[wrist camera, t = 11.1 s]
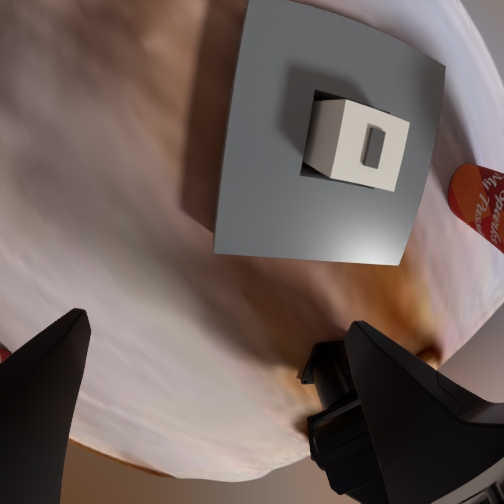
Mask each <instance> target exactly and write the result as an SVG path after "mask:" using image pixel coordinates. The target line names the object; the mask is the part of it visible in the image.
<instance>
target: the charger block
mask: <svg viewBox="0 0 504 504" xmlns="http://www.w3.org/2000/svg"><path fill="white" fill-rule="evenodd" d="M409 124H410V123H409V122H407V121H405V120H402V119H400V118H397V117H395V116H392V115H390V114H387V113H384V112H382V111H379V110H376V109H374V108H371V107H368V106H365V105H362V104H359V103H356V102H353V101H350V100H346V99H343V100H325V101H313V104H312V110H311V116H310V121H309V127H308V133H307V138H306V144H305V149H304V155H303V160H302V161H303V162H304V163H306V164H308V165H310V166H311V167H313V168H315V169H316V170H318V171H320V172H321V173H323V174H325V175H326V176H328V177H330V178H333V179H338V180H343V181H348V182H353V183H358V184H362V185H367V186H371V187H376V188H380V189H384V190H388V191H392V192H394V189H395V186H396V182H397V178H398V174H399V170H400V166H401V162H402V158H403V153H404V149H405V144H406V139H407V135H408V130H409Z"/></svg>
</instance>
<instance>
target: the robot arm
mask: <svg viewBox="0 0 504 504" xmlns="http://www.w3.org/2000/svg"><path fill="white" fill-rule="evenodd" d="M90 336H91V328H90V324H89V320H88V316H87V313H86V311H85V310H84V309H79V308H73V309H72V310H70V311H69V312H68V313H66V314H65V315H63V316H62V317H61V318H59V319H58V320H56V321H55V322H54V323H52V324H51V325H50V326H48V327H47V328H45V329H44V330H43V331H41V332H40V333H39V334H37V335H36V336H35V337H33V338H32V339H31V340H29V341H28V342H27V343H25V344H24V345H23V346H22V347H20V348H19V349H18V350H16V351H15V352H14V353H13V354H11V355H10V356H9V357H7V358H6V359H5V360H4V361H3V362H1V363H0V504H60V495H61V485H62V481H61V480H62V475H63V467H64V461H65V455H66V449H67V443H68V437H69V432H70V427H71V422H72V418H73V413H74V409H75V405H76V401H77V397H78V393H79V389H80V385H81V381H82V378H83V374H84V368H85V363H86V357H87V351H88V346H89V341H90ZM300 381H301V383H302V384H315V387H316V390H317V393H318V396H319V398H320V401H321V404H322V407H323V410H324V411H322V412H320V413H317V414H315V415H313V416H312V415H311V416H309V417H307V423H308V424H307V429H308V437H309V445H310V453H311V459H312V460H313V461H315V462H316V463H317V465H318V466H319V468H320V469H321V470H323V471H325V472H326V474H327V477H328V480H329V483H330V486H331V489H332V490H334V491H335V492H336V493H337V494H339V495H343V494H346V495H348V496H349V497H351V498H353V499H355V500H356V501H358V502H360V503H361V504H504V403H492V402H489V401H486V400H484V399H482V398H480V397H479V396H477V395H475V394H473V393H472V392H470V391H468V390H466V389H465V388H463V387H461V386H460V385H458V384H456V383H454V382H453V381H452V380H450V379H448V378H447V377H445V376H444V375H442V374H441V373H440V372H438V371H437V370H436V371H435V369H434V368H432V367H431V366H429V365H428V364H426V363H425V362H424V361H422V360H421V359H419V358H418V357H416V356H415V355H413V354H412V353H410V352H409V351H407V350H406V349H405V348H403V347H402V346H400V345H399V344H397V343H396V342H394V341H393V340H391V339H390V338H388V337H387V336H386V335H384V334H383V333H381V332H380V331H378V330H377V329H375V328H374V327H372V326H371V325H369V324H368V323H366V322H365V321H354V322H352V324H351V326H350V328H349V330H348V332H347V335H346V337H345V342H331V343H318V344H316V345H315V347H314V349H313V351H312V354H311V356H310V359H309V361H308V363H307V366H306V368H305V370H304V373H303V375H302V377H301V380H300Z"/></svg>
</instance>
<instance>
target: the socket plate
mask: <svg viewBox="0 0 504 504" xmlns="http://www.w3.org/2000/svg"><path fill="white" fill-rule="evenodd" d="M445 67H446V66H444V65H443V64H441V63H439V62H438V61H436V60H434V59H433V58H431V57H429V56H428V55H426V54H424V53H423V52H421V51H419V50H417V49H415V48H414V47H412V46H410V45H408V44H406V43H404V42H402V41H400V40H398V39H396V38H394V37H392V36H390V35H388V34H386V33H383V32H381V31H379V30H377V29H374V28H372V27H370V26H367V25H365V24H362V23H360V22H357V21H355V20H352V19H349V18H347V17H344V16H341V15H338V14H335V13H332V12H329V11H326V10H323V9H319V8H316V7H312V6H309V5H305V4H301V3H297V2H293V1H289V0H248V2H247V5H246V8H245V11H244V16H243V22H242V27H241V32H240V38H239V44H238V49H237V55H236V61H235V67H234V73H233V80H232V86H231V93H230V99H229V106H228V113H227V120H226V127H225V135H224V142H223V150H222V158H221V166H220V175H219V183H218V192H217V201H216V211H215V221H214V231H213V249H214V254H229V255H243V256H259V257H274V258H289V259H305V260H320V261H336V262H352V263H368V264H384V265H399V263H400V260H401V258H402V255H403V252H404V250H405V247H406V244H407V241H408V239H409V236H410V233H411V230H412V227H413V224H414V221H415V217H416V214H417V211H418V208H419V204H420V201H421V198H422V194H423V190H424V187H425V183H426V179H427V175H428V171H429V167H430V163H431V159H432V154H433V149H434V145H435V140H436V135H437V129H438V123H439V117H440V111H441V104H442V97H443V88H444V79H445ZM314 96H317V97H322V98H325V99H329V100H343V99H346V100H350V101H353V102H356V103H359V104H362V105H365V106H368V107H371V108H374V109H376V110H379V111H382V112H384V113H387V114H390V115H392V116H395V117H397V118H400V119H402V120H405V121H407V122H409V123H410V124H409V130H408V135H407V139H406V144H405V149H404V153H403V158H402V162H401V166H400V170H399V174H398V178H397V182H396V186H395V189H394V192H392V191H388V190H384V189H380V188H376V187H371V186H367V185H362V184H358V183H353V182H348V181H343V180H338V179H333V178H330V177H328V176H326V175H325V174H323V173H321V172H320V171H315V170H309V169H303V168H301V166H302V160H303V155H304V149H305V144H306V138H307V133H308V127H309V121H310V116H311V110H312V104H313V98H314Z"/></svg>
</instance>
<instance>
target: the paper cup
mask: <svg viewBox="0 0 504 504" xmlns="http://www.w3.org/2000/svg"><path fill="white" fill-rule="evenodd" d="M448 200H449V206H450V209H451V211H452V212H453V213H454V214H455V215H456V216H457V217H458V218H460V219H461V220H462V221H464V222H465V223H466V224H467V225H469V226H470V227H471V228H473V229H474V230H475V231H476V232H478V233H479V234H480V235H482V236H483V237H484V238H485V239H487V240H488V241H489V242H490V243H492V244H493V245H494V246H495V247H496V248H498V249H499V250H500V251H501V252H502V253H503V254H504V174H503V173H500V172H497V171H494V170H491V169H488V168H485V167H481V166H478V165H474V164H464V165H462V166H460V167H459V168H458V169H457V171H456V172H455V174H454V175H453V177H452V180H451V183H450V187H449V193H448Z"/></svg>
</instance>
